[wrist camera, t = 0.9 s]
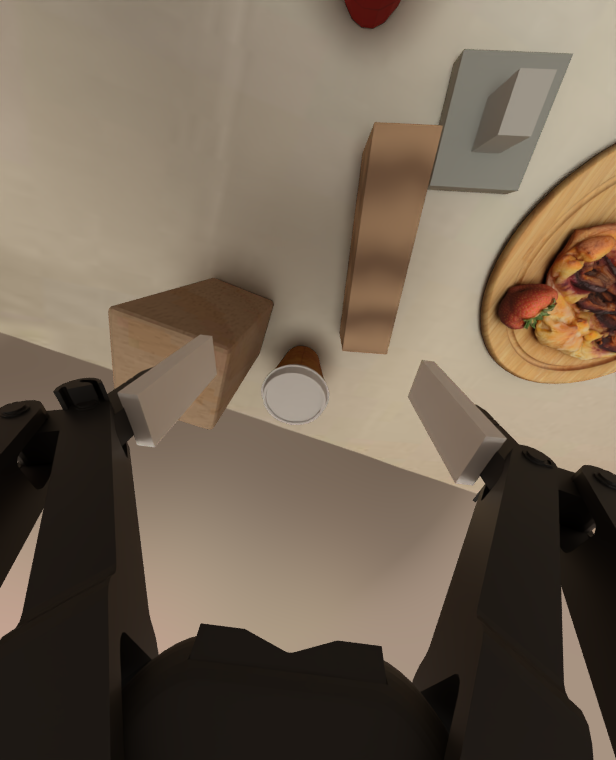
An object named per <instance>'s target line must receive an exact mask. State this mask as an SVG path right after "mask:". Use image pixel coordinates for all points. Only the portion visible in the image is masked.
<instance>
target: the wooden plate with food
mask: <svg viewBox="0 0 616 760" xmlns="http://www.w3.org/2000/svg"><path fill="white" fill-rule="evenodd" d="M481 331H482V336H483V340H484V343H485V346H486V348H487V350H488V352H489V354H490V355H491V357H492V358H493V359H494V360H495V361H496V363H497V364H498V365H500V366H501V367H502V368H503V369H505V370H506V371H507V372H509V373H511V374H513V375H514V376H517V377H519V378H522V379H525V380H528V381H533V382H538V383H551V384H558V383H572V382H579V381H585V380H590V379H594V378H598V377H601V376H604V375H608V374H611V373H613V372H616V144H614V145H612V146H611V147H609V148H607V149H606V150H604V151H602V152H601V153H599V154H598V155H596V156H595V157H594V158H592V159H591V160H589V161H588V162H586V163H585V164H584V165H582V166H581V167H580V168H578V169H577V170H576V171H574V172H573V173H572V174H571V175H569V176H568V177H567V178H566V179H564V180H563V181H562V182H561V183H560V184H558V185H557V186H556V187H555V188H554V189H553V190H552V191H551V192H550V193H549V194H548V195H547V196H546V197H545V198H544V199H543V200H542V201H541V202H540V203H539V204H538V205H537V206H536V207H535V208H534V209H533V210H532V212H531V213H530V214H529V215H528V216H527V217H526V218H525V220H524V221H523V222H522V223H521V225H520V226H519V227H518V229H517V230H516V231H515V233H514V234H513V236H512V237H511V239H510V240H509V242H508V243H507V245H506V246H505V248H504V250H503V251H502V253H501V255H500V257H499V258H498V260H497V262H496V264H495V266H494V268H493V271H492V273H491V275H490V278H489V280H488V283H487V286H486V289H485V293H484V297H483V301H482V308H481Z"/></svg>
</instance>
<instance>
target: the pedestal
mask: <svg viewBox="0 0 616 760" xmlns="http://www.w3.org/2000/svg"><path fill="white" fill-rule="evenodd" d="M572 55H573V54H569V53H546V52H522V51H498V50H474V49H464V50H463V51H462V53H461V54H460V56H459V57H458V59H457V60H456V61H455V63H454V65H453V70H452V74H451V78H450V82H449V86H448V90H447V94H446V99H445V103H444V107H443V111H442V115H441V119H440V123H439V125H443V127H442V131H441V136H440V140H439V144H438V148H437V152H436V156H435V160H434V164H433V168H432V172H431V176H430V180H429V184H428V188H427V189H428V190H445V191H463V192H480V193H497V194H508V193H511V192H515V191H518V189H519V186H520V184H521V182H522V179H523V177H524V174H525V172H526V169H527V167H528V164H529V162H530V159H531V157H532V154H533V152H534V149H535V147H536V144H537V142H538V139H539V137H540V135H541V132H542V130H543V127H544V125H545V122H546V120H547V117H548V115H549V112H550V110H551V107H552V105H553V102H554V100H555V97H556V95H557V92H558V90H559V87H560V85H561V83H562V80H563V78H564V75H565V73H566V70H567V68H568V65H569V63H570V60H571V58H572Z"/></svg>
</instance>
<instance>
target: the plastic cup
mask: <svg viewBox="0 0 616 760" xmlns="http://www.w3.org/2000/svg"><path fill="white" fill-rule="evenodd" d="M344 1H345V3H346V6H347V8H348V11H349V13H350V15H351V17H352V19H353V20H354V21H355V22H356V23H358V24H359V25H360V26H361V27H366V28H374V27H376V26H378V25H380V24H382V23H384V22H385V21H386V20H387V19H388V17H389V16H390V15H391V14H392V12H393V11H394V10H395V9H396V8H397V6H398V5H399V3H400V1H401V0H344Z"/></svg>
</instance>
